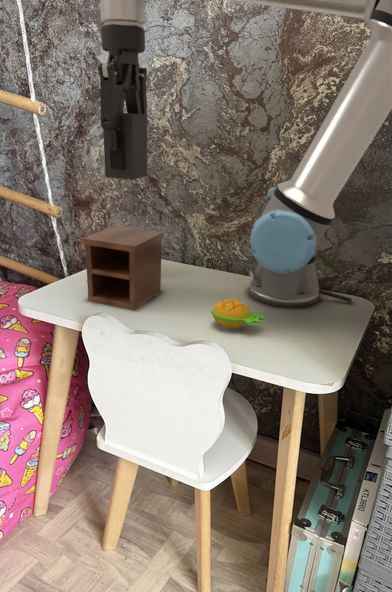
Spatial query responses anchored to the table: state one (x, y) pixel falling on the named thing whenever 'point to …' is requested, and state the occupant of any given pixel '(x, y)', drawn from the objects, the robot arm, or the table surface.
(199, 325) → the table surface
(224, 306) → the orange toy pineapple
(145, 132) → the black upright box
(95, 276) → the shelf
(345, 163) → the robot arm
